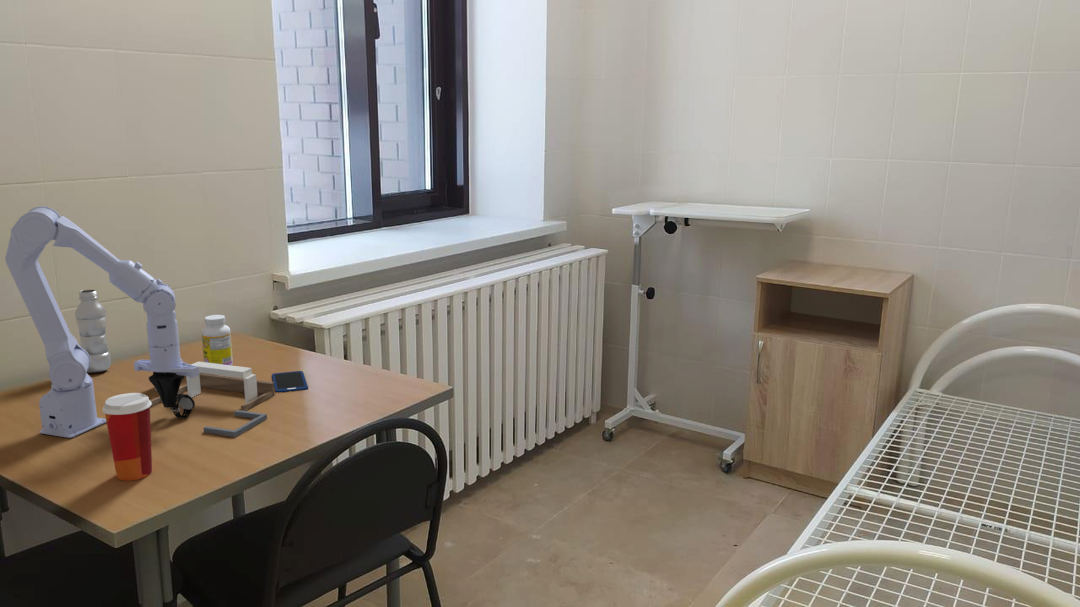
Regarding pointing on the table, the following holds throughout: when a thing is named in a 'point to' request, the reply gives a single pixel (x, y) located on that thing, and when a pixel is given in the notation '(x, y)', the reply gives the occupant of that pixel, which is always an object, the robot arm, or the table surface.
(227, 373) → the clamp arch
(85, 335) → the plastic bottle
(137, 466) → the paper cup
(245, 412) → the frame
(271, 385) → the track
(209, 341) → the supplement bottle
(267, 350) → the table surface
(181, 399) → the smartwatch
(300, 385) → the cell phone
